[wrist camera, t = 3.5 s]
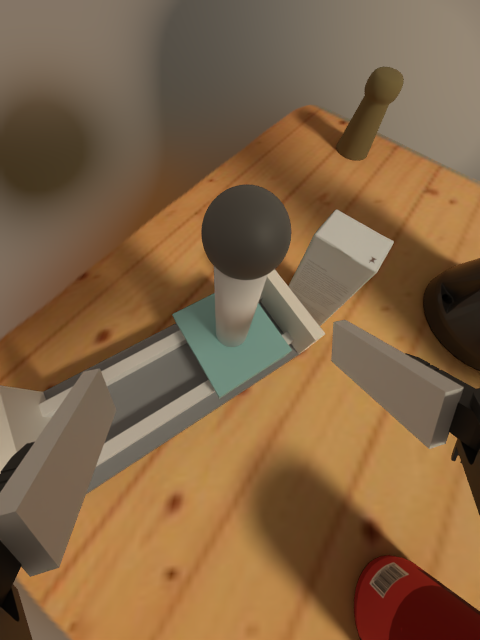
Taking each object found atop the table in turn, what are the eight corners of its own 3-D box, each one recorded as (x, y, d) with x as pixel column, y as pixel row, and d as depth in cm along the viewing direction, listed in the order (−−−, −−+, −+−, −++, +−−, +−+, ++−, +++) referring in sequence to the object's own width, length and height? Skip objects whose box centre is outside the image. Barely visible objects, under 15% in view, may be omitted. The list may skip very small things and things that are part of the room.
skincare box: (334, 304, 31) (397, 241, 20) (319, 327, 30) (378, 274, 19) (296, 278, 32) (336, 206, 21) (279, 300, 31) (313, 234, 20)
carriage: (239, 289, 27) (269, 108, 11) (286, 355, 24) (409, 241, 9) (175, 322, 25) (101, 155, 9) (219, 398, 22) (221, 351, 6)
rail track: (254, 289, 31) (264, 256, 25) (301, 353, 28) (325, 333, 22) (44, 400, 24) (-21, 393, 18) (77, 500, 21) (15, 535, 15)
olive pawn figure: (351, 136, 46) (388, 57, 36) (374, 154, 45) (419, 76, 34) (329, 145, 44) (362, 65, 34) (352, 164, 43) (393, 86, 33)
